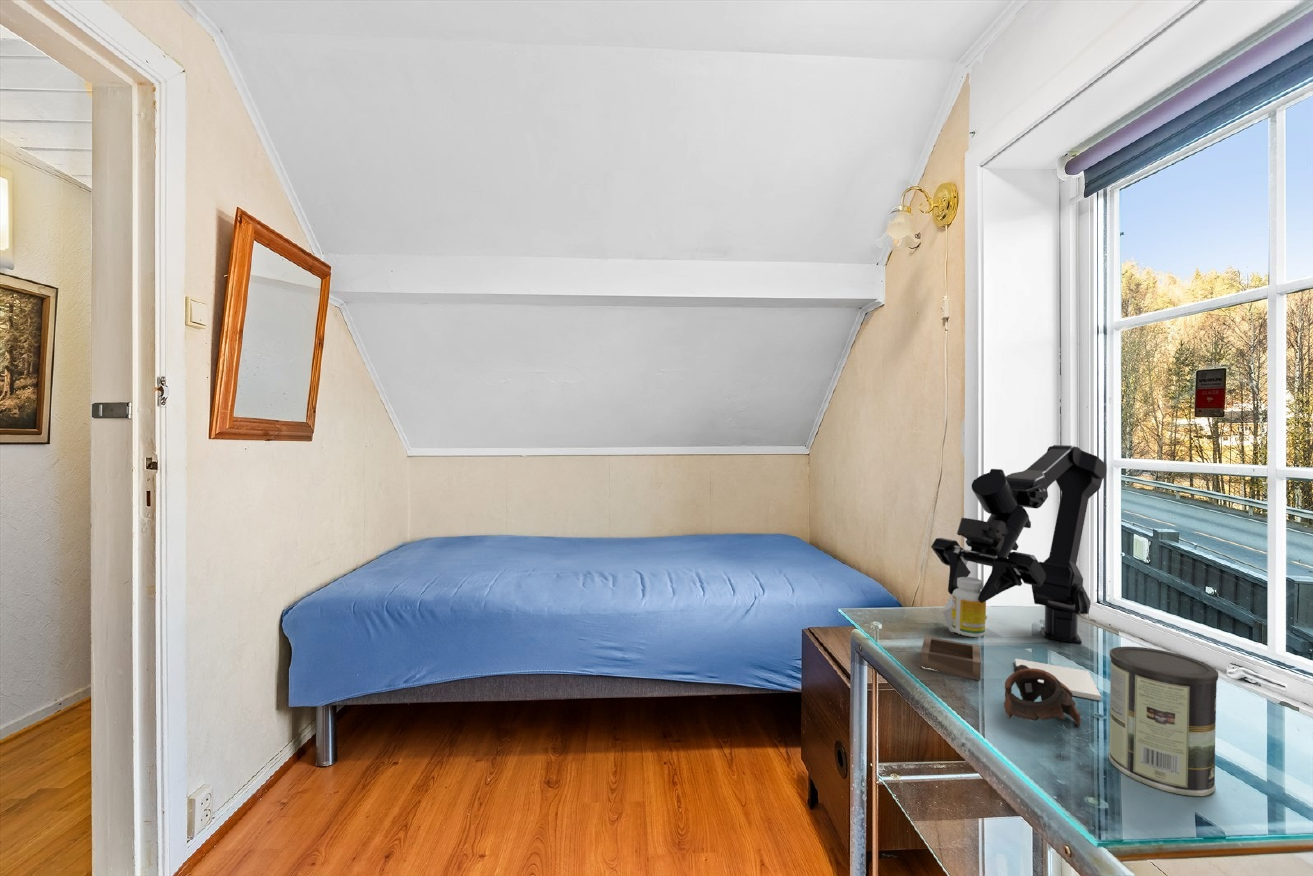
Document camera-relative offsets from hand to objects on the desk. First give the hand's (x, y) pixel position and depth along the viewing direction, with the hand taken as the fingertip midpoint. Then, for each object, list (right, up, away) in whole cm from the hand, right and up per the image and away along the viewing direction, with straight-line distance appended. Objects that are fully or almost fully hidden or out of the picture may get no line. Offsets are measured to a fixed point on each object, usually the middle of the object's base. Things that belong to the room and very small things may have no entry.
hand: (964, 597), depth 103 cm
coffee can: (+8, -14, -30) cm, 34 cm away
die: (+10, -13, +20) cm, 26 cm away
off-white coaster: (+14, -13, -4) cm, 20 cm away
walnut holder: (-1, -13, +2) cm, 13 cm away
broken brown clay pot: (+2, -14, -17) cm, 22 cm away
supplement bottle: (+1, -7, +1) cm, 7 cm away
